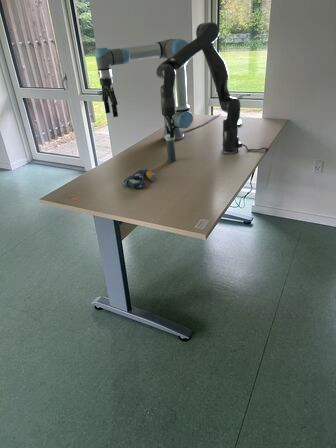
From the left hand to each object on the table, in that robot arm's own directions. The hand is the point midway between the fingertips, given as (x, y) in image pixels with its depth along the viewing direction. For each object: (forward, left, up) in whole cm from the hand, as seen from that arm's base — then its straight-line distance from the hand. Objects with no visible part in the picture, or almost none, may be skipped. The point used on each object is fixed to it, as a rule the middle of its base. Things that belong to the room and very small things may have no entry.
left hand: (111, 114), depth 206 cm
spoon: (-96, -3, -28) cm, 100 cm away
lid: (-25, +27, -12) cm, 39 cm away
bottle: (-25, +27, -28) cm, 46 cm away
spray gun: (+4, +45, -28) cm, 53 cm away
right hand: (-19, +40, -8) cm, 45 cm away
